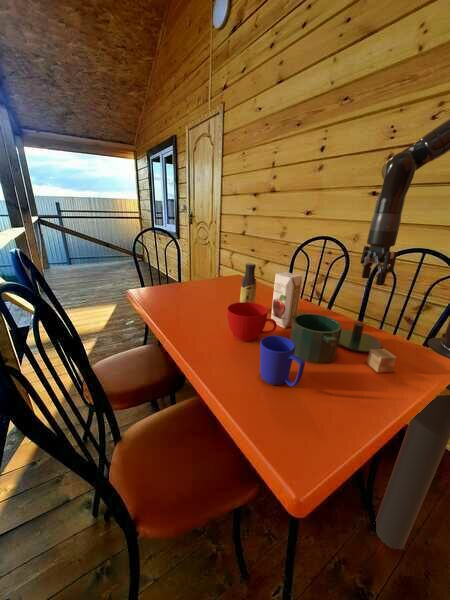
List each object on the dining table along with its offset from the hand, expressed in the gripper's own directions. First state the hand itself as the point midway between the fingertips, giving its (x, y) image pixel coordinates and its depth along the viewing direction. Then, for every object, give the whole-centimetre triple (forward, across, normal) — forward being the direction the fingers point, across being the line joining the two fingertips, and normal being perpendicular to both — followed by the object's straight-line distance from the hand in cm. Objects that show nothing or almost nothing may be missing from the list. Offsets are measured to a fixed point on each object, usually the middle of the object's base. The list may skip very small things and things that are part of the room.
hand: (371, 281), depth 82 cm
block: (+20, -19, +4) cm, 28 cm away
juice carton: (+20, +8, +25) cm, 33 cm away
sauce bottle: (+20, +21, +38) cm, 47 cm away
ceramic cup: (+20, -5, +38) cm, 43 cm away
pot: (+20, -11, +20) cm, 30 cm away
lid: (+19, -5, +4) cm, 20 cm away
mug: (+20, -27, +33) cm, 47 cm away
